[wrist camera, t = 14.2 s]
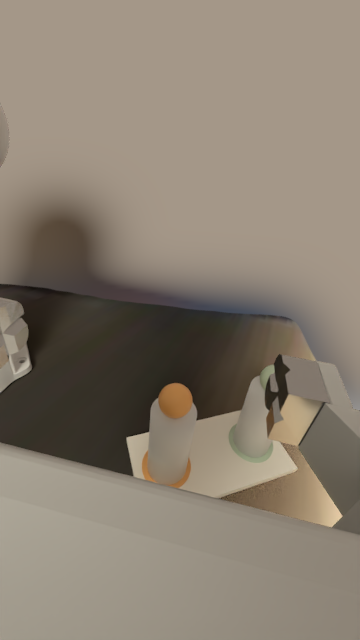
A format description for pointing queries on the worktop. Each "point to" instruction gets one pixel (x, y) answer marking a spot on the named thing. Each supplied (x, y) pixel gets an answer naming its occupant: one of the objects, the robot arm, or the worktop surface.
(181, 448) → the orange ball tube
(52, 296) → the worktop surface
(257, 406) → the green ball tube
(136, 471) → the card
